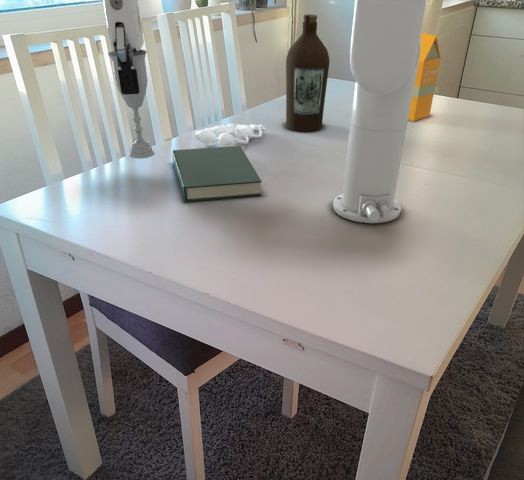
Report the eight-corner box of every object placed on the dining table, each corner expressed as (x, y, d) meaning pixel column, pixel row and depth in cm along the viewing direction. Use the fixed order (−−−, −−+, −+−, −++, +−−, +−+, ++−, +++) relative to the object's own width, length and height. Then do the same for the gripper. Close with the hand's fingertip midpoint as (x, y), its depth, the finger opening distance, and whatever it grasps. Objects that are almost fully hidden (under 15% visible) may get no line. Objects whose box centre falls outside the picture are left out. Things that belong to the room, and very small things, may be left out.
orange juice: (403, 109, 156) (416, 29, 143) (429, 116, 151) (445, 33, 138) (387, 114, 152) (399, 32, 139) (413, 121, 147) (428, 37, 134)
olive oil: (282, 120, 146) (286, 11, 130) (321, 120, 146) (329, 12, 130) (285, 132, 137) (289, 18, 122) (326, 132, 138) (336, 18, 122)
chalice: (155, 160, 105) (142, 56, 94) (120, 160, 105) (103, 56, 94) (161, 148, 111) (150, 48, 99) (128, 148, 111) (113, 49, 100)
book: (261, 195, 106) (261, 181, 104) (184, 202, 103) (183, 187, 101) (240, 159, 122) (240, 145, 120) (173, 163, 119) (172, 150, 117)
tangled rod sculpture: (235, 129, 143) (234, 112, 140) (280, 135, 135) (279, 118, 133) (184, 146, 130) (182, 128, 128) (231, 154, 123) (229, 134, 120)
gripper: (133, -25, 83) (149, 100, 94) (142, -33, 96) (155, 78, 107) (83, -25, 82) (105, 101, 93) (100, -32, 96) (117, 79, 107)
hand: (132, 88), depth 100 cm, fingers closed on chalice, 6 cm apart
